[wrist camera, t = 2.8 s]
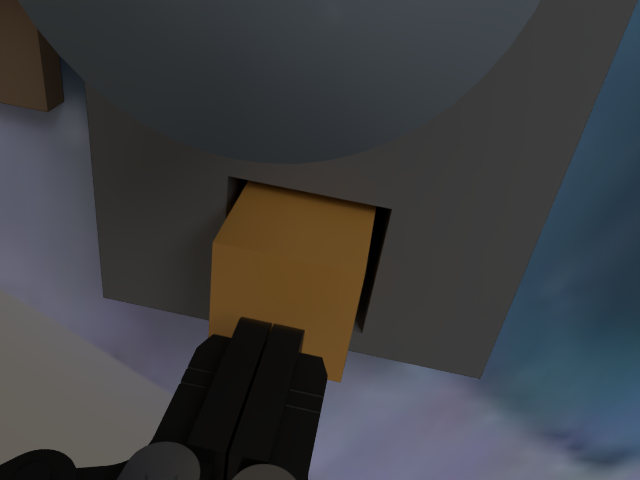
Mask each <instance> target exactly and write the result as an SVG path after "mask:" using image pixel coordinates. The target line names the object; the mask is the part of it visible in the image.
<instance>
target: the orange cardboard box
mask: <svg viewBox="0 0 640 480" xmlns="http://www.w3.org/2000/svg"><path fill="white" fill-rule="evenodd" d="M375 211H376V206H374V205H369V204H364V203H359V202H354V201H349V200H344V199H339V198H334V197H330V196H325V195H320V194H315V193H310V192H305V191H300V190H295V189H290V188H285V187H280V186H275V185H270V184H265V183H260V182H255V181H250V180H248V182H247V184H246V186H245V187H244V189H243V191H242V193H241V194H240V196H239V198H238V199H237V201H236V203H235V205H234V206H233V208H232V210H231V212H230V213H229V215H228V217H227V219H226V220H225V222H224V224H223V225H222V227H221V229H220V231H219V232H218V234H217V236H216V238H215V239H214V241H213V247H212V270H211V293H210V316H209V337H210V336H211V335H213V334H217V335H221V336H226V337H230V338H231V337H232V335H233V333H234V330H235V328H236V326H237V323H238V321H239V319H240V317H247V318H251V319H256V320H260V321H265V322H270V323H272V327H273V325H274V323H275V324H280V325H285V326H289V327H294V328H298V329H303V330H305V334H304V340H303V346H302V352H301V353H305V354H310V355H314V356H319V357H322V358H323V361H324V365H325V368H326V371H327V375H328V378H327V380H332V381H336V382H341V378H342V374H343V370H344V365H345V361H346V356H347V352H348V348H349V343H350V339H351V334H352V330H353V325H354V321H355V317H356V312H357V308H358V303H359V299H360V295H361V290H362V286H363V281H364V277H365V272H366V266H367V260H368V254H369V247H370V241H371V235H372V229H373V223H374V217H375Z"/></svg>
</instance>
